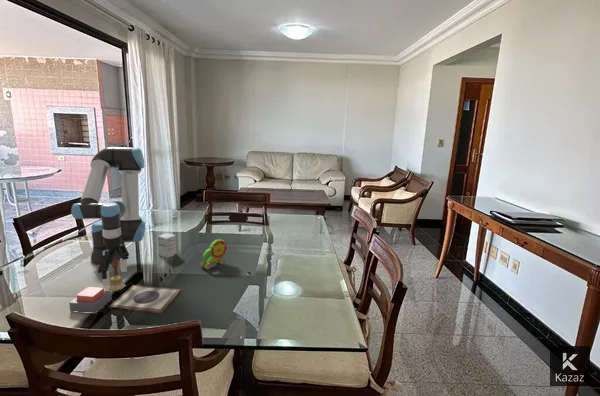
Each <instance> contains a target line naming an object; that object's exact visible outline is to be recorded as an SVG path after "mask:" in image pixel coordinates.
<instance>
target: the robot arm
mask: <svg viewBox="0 0 600 396" xmlns="http://www.w3.org/2000/svg"><path fill="white" fill-rule="evenodd" d="M89 165H90V171H89V174H88V178H87V180H86V184H85V187H84V191H83V192H82V196H81V198H80V202H77V203H73V204H72V206H71V210H70V211H71V215H72V218H73V219H75V220H76V219H77V220H95V219H99V220H97V221H94V223H92V224H91V232H90V233H91V239H92V248H93V250H92V252H91V256H90V263H91V264H93V265H96V266H98V268H97V273H98V274H99V273H100V274H101V278H102V285H104V286H105V285H106V286H109V285H110V281H111V280H110V272H109V268H110V265H112V261H113V258H114V257H116V258H117V260H118V262H119V263H120V272H121V273H122V272H123V273H127V272H128V265H127V263H128V262H127V260H128V259H129V255H130V253H129V251H128V249H127V247H126V245H125V243H136V242H141V241H143V238H144V236H145V230H146V222H145V221H144V220H143V217H141V216H140V196H139V193H140V192H139V191H140V190H139V174H140V173H141V172H142V169H144V168H145V159H144V154H143V152H142V150H141V149H140V148H138V147H129V146H128V147H124V146H122V147H120V146H109V147H105V148H103V149H101V150H99V151H98V152H97V153H96V154H95V155H94V156H93V157H92V159H91V162H90V164H89ZM111 169H117V170H118V172H119V173H120V175H121V176H120V177H121V179H120V180H121V201H120V200H116V201H113V202H100V199H101V195H102V192H103V189H104V185H105V182H106V179H107V175H108V173H109V172H110V171H111ZM100 219H101V220H100Z"/></svg>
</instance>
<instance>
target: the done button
mask: <svg viewBox="0 0 600 396" xmlns="http://www.w3.org/2000/svg"><path fill="white" fill-rule="evenodd" d="M104 291H105V288H104V287H97V286H96V287H94V286H87V287H86V288H85V289H83V290H82V291H80V292H79V293H77V294H76V297H77V301H82V302H93V303H94V302H95V301H96V300H97V299H99V298H100V297H101V296H102V295H104Z"/></svg>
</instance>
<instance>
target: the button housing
mask: <svg viewBox="0 0 600 396" xmlns="http://www.w3.org/2000/svg"><path fill="white" fill-rule="evenodd" d="M112 298H113V297H112V292H111V291H107V290H104V295H102V296H101V297H100V298H99V299H97V300H96V301H95V302H94V303H93V302H82V301H77V296H76V297H74V298H73V299H72V300H70V301H69V311H78V312H96V311H97V310H99V309H100V308H101V307H102V306H103V305H104V304H106V303H107V302H109V301H110V300H112V301H113V299H112ZM110 302H111V301H110ZM110 302H109V303H110Z"/></svg>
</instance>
